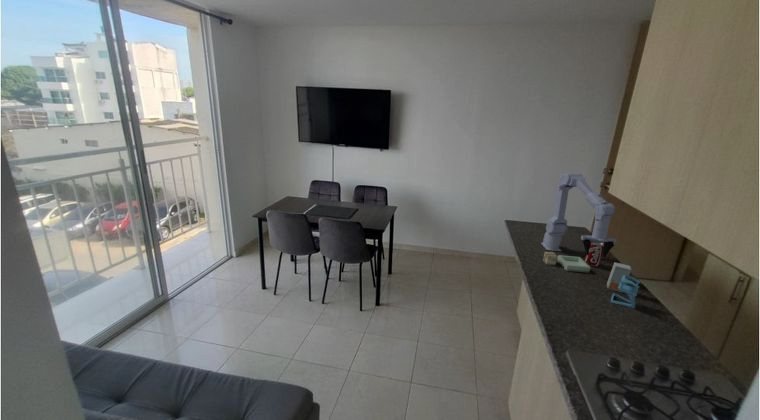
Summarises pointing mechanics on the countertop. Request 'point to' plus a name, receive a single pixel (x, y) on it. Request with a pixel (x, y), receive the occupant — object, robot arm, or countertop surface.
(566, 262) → the tray
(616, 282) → the skincare box
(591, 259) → the soda can
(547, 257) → the block
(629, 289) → the chair
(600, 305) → the countertop surface
